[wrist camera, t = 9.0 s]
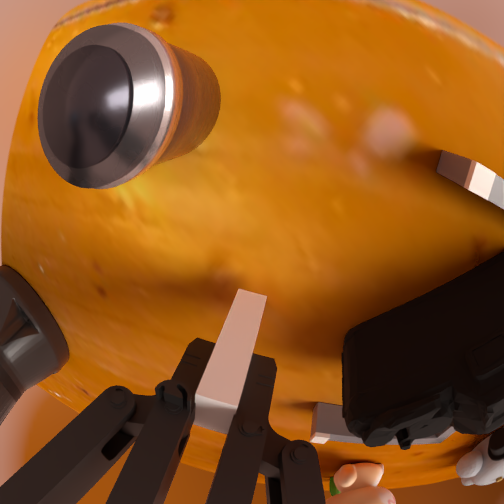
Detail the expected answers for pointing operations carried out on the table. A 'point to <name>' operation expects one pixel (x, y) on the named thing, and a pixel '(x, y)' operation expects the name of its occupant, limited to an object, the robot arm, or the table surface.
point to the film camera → (429, 363)
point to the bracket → (477, 181)
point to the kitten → (359, 485)
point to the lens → (123, 105)
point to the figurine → (483, 461)
